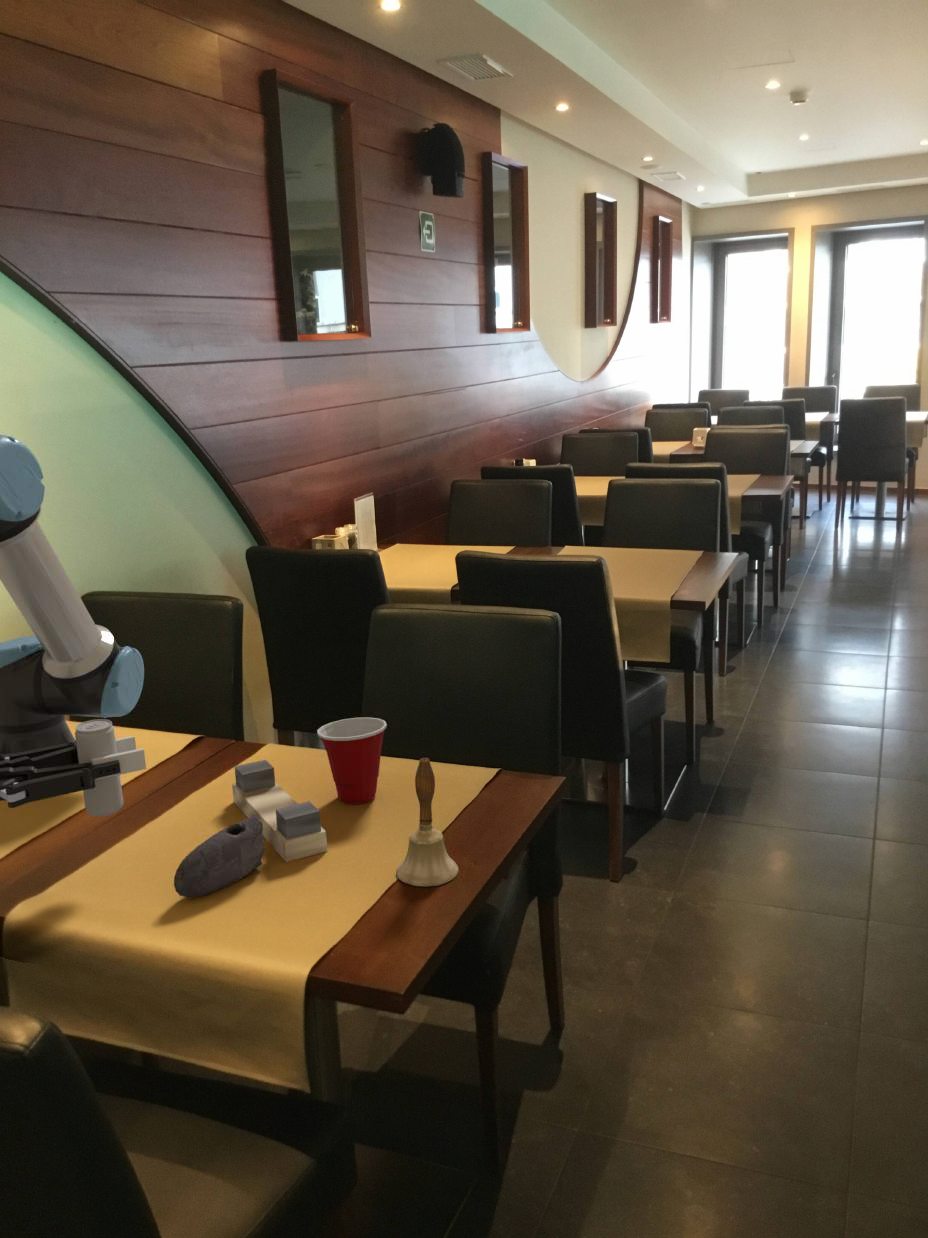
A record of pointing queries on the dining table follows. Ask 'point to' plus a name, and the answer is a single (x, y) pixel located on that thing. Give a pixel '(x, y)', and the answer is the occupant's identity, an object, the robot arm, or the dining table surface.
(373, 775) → the plastic cup
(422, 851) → the hand bell
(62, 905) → the dining table surface
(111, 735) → the beverage can
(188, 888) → the perforated stone tool
